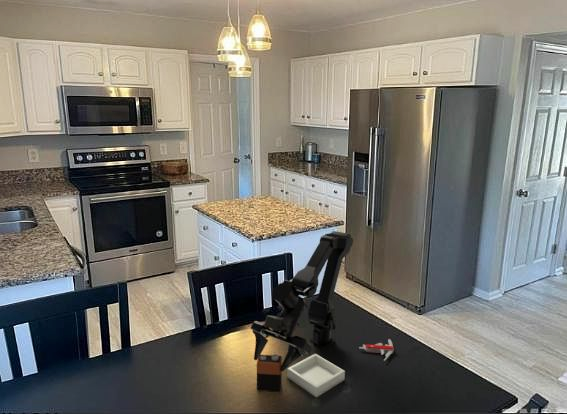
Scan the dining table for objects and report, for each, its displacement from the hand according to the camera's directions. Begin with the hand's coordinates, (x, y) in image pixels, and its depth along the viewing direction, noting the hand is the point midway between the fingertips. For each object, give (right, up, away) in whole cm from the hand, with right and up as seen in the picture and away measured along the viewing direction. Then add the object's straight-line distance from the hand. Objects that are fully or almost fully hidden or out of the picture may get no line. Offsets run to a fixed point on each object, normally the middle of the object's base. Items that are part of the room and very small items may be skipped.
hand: (267, 365), depth 117 cm
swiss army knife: (+35, -4, +21) cm, 42 cm away
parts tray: (+14, -6, +6) cm, 17 cm away
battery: (0, -7, +2) cm, 8 cm away
